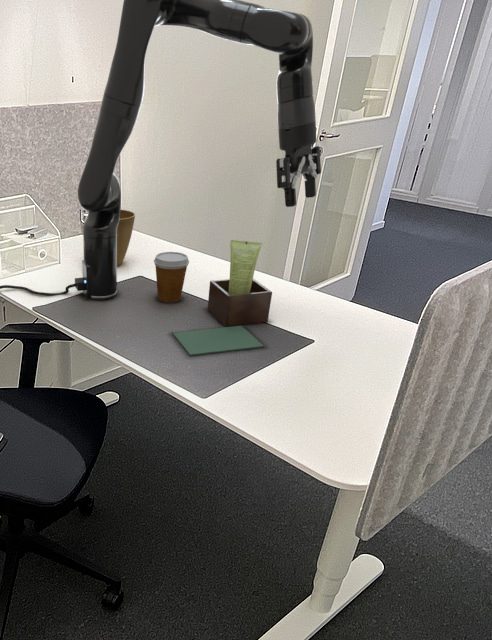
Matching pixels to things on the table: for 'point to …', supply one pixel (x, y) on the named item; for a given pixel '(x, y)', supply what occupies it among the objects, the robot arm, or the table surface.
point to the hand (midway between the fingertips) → (301, 201)
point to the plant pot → (124, 234)
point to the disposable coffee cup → (170, 275)
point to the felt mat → (217, 340)
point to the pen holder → (239, 303)
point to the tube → (242, 265)
